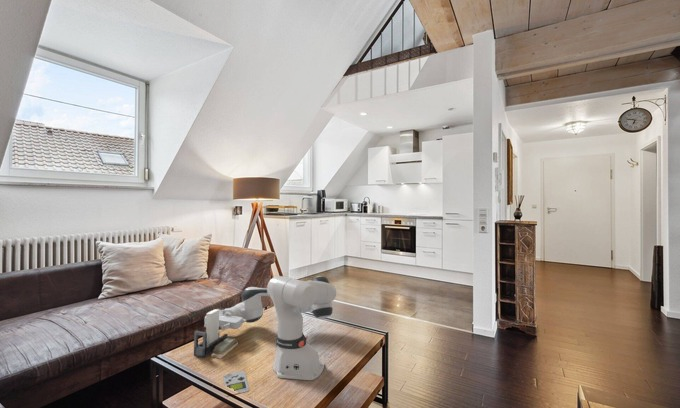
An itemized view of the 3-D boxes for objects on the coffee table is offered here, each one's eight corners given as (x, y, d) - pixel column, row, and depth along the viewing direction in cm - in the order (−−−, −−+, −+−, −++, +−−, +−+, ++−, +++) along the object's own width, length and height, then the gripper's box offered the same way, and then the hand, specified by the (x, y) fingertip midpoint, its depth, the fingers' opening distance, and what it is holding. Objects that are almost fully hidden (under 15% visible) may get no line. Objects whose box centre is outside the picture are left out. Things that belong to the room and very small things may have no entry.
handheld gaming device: (244, 369, 130) (249, 390, 116) (244, 371, 130) (249, 392, 116) (222, 374, 126) (225, 395, 113) (222, 376, 126) (225, 397, 113)
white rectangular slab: (218, 345, 151) (219, 309, 151) (210, 351, 145) (210, 314, 145) (214, 344, 152) (214, 309, 151) (205, 350, 146) (206, 313, 146)
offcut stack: (238, 345, 152) (238, 336, 152) (220, 359, 139) (220, 349, 139) (229, 343, 154) (229, 335, 153) (211, 357, 140) (211, 348, 140)
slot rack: (227, 341, 155) (227, 320, 155) (204, 357, 139) (205, 333, 139) (217, 339, 157) (217, 318, 156) (193, 355, 141) (194, 331, 141)
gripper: (247, 325, 159) (231, 336, 146) (215, 319, 165) (196, 330, 152) (248, 313, 159) (231, 323, 146) (215, 308, 165) (196, 317, 152)
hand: (213, 327), depth 149 cm, fingers open, 8 cm apart
